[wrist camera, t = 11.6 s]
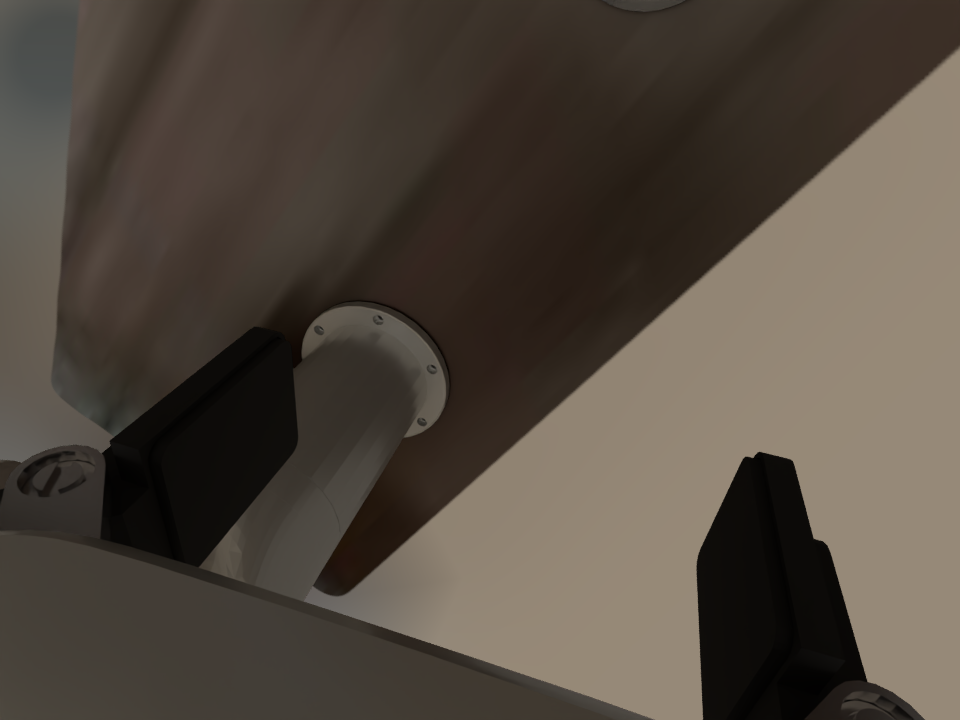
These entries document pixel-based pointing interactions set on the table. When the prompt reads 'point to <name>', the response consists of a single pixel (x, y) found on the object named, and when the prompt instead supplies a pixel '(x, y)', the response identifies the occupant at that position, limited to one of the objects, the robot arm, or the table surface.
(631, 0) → the stand
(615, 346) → the table surface
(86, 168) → the table surface
